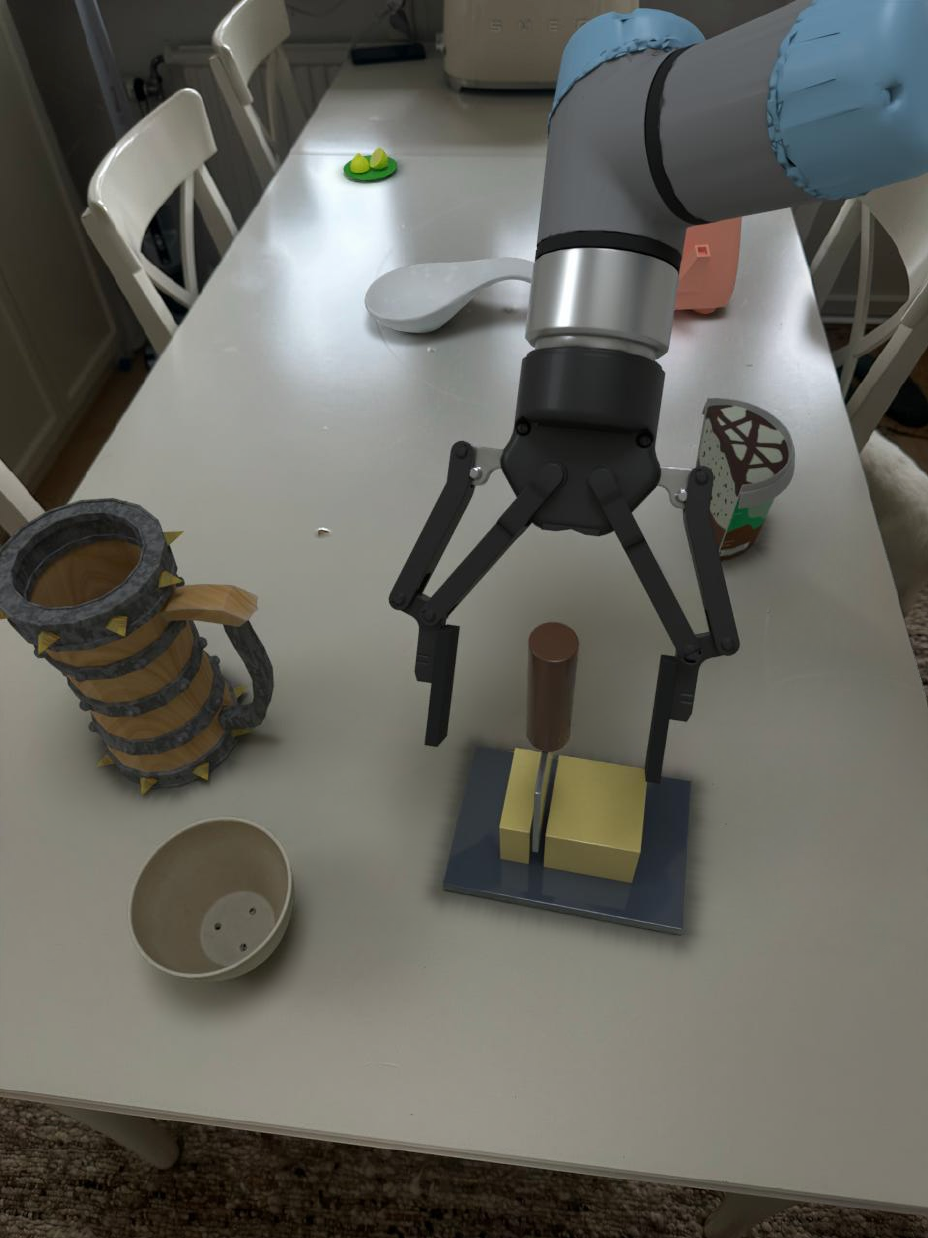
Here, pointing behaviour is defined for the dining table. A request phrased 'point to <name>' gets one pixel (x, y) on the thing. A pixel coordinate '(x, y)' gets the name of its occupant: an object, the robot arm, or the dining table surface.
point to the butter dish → (563, 887)
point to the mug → (134, 638)
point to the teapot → (709, 266)
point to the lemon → (370, 166)
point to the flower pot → (212, 900)
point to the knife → (549, 703)
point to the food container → (743, 469)
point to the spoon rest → (436, 290)
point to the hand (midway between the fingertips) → (541, 758)
